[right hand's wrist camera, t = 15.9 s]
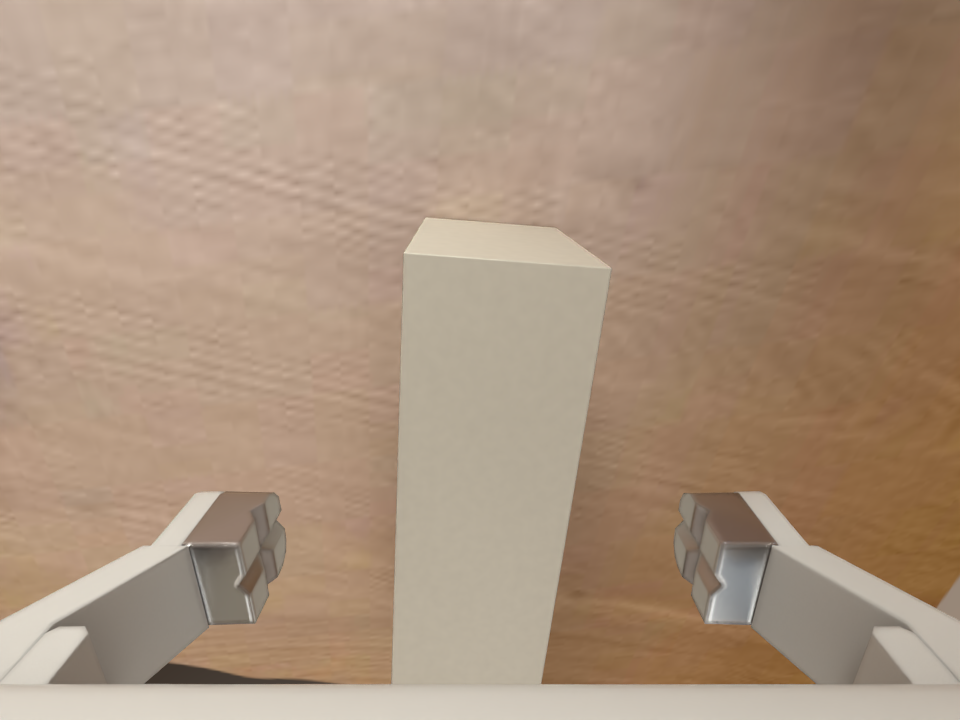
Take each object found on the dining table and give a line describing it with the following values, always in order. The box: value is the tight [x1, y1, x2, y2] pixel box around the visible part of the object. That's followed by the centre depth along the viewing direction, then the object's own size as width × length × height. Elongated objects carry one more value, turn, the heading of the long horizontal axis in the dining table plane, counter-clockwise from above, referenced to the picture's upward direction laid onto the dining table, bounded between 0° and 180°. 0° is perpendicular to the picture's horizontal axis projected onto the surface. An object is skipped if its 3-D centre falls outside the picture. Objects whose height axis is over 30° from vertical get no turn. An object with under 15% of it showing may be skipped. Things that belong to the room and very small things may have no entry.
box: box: [391, 217, 612, 684], centre depth 25 cm, size 27×6×10 cm, turn 175°
